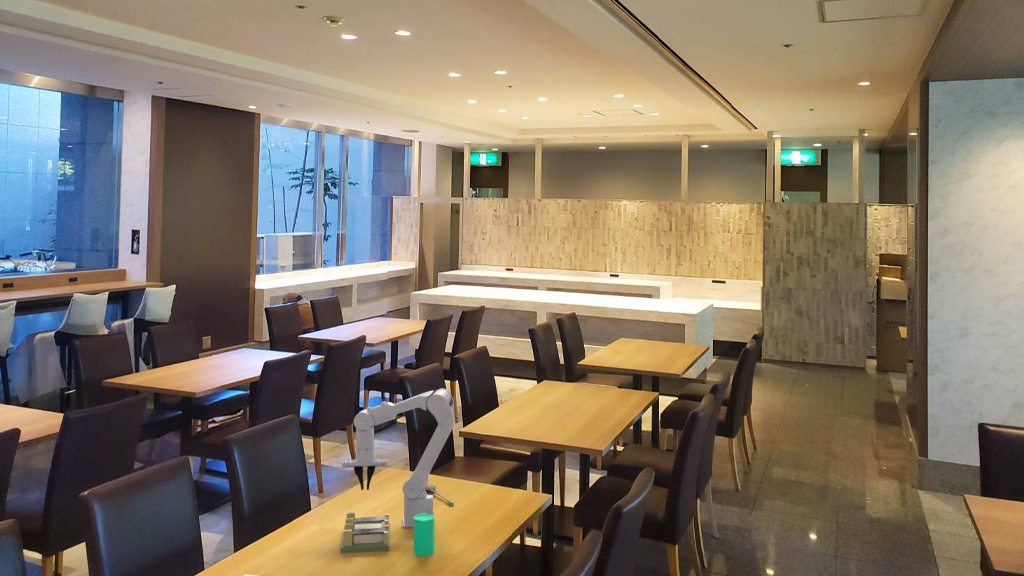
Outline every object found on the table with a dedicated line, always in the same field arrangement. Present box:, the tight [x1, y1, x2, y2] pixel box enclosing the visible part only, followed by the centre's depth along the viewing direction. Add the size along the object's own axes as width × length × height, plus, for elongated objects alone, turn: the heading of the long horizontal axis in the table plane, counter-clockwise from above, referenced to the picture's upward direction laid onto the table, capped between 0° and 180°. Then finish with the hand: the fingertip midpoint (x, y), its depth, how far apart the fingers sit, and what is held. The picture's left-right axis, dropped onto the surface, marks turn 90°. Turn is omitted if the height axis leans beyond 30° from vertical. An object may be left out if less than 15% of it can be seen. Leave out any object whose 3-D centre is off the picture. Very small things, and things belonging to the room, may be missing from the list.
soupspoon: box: [425, 483, 455, 507], centre depth 266 cm, size 22×3×7 cm
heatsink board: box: [340, 511, 391, 554], centre depth 228 cm, size 14×17×6 cm
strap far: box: [354, 515, 388, 524], centre depth 232 cm, size 11×3×1 cm, turn 98°
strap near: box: [352, 527, 388, 536], centre depth 224 cm, size 11×3×1 cm, turn 98°
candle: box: [413, 513, 435, 557], centre depth 220 cm, size 6×6×12 cm
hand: (365, 488), depth 243 cm, fingers closed
